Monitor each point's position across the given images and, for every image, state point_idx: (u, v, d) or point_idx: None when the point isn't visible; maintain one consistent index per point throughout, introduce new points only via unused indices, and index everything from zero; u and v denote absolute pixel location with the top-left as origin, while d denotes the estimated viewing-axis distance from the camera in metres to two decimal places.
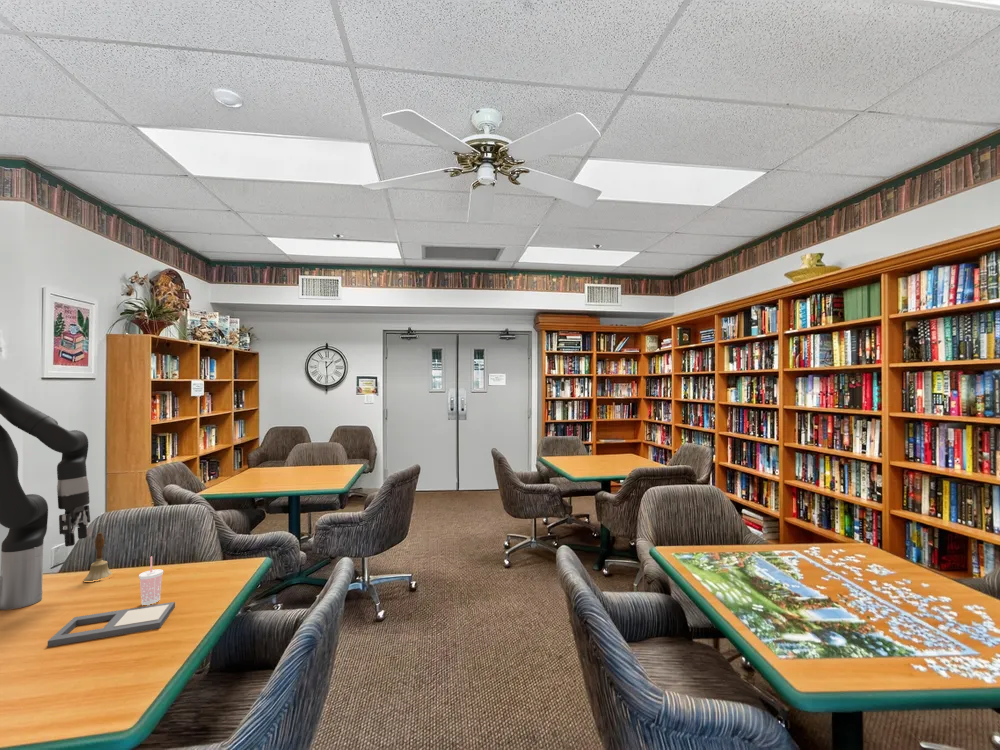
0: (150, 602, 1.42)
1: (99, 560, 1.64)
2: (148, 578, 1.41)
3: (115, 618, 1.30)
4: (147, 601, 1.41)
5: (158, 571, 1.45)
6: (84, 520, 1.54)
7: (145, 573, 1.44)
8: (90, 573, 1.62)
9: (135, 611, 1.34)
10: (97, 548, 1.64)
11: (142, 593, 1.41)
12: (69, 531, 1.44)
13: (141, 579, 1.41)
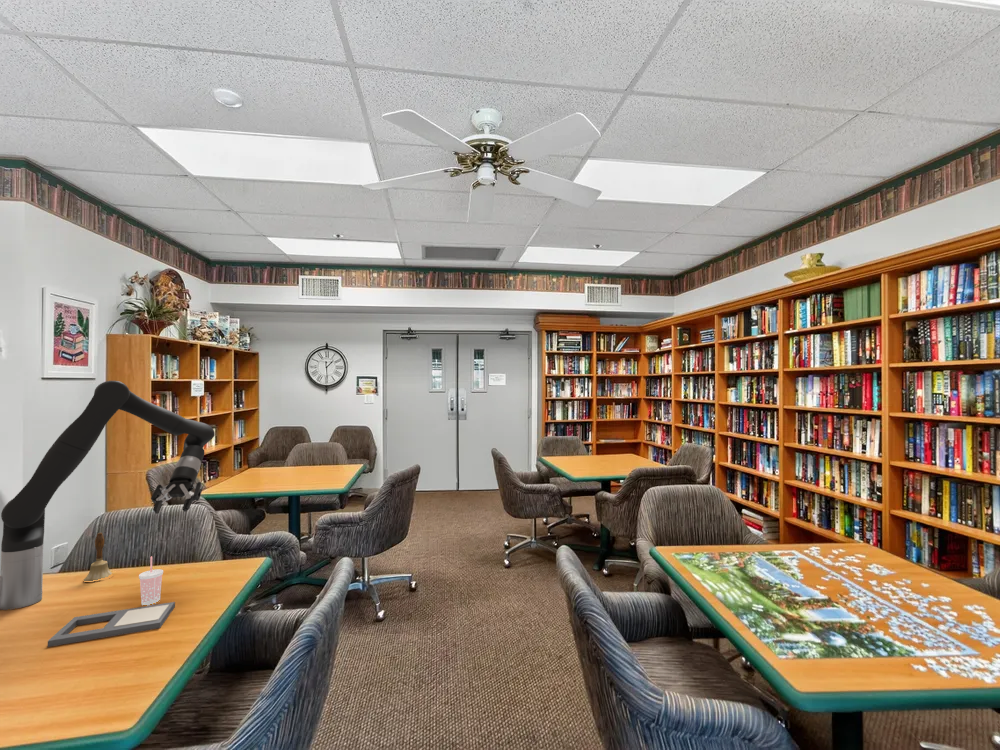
0: (150, 602, 1.42)
1: (99, 560, 1.64)
2: (148, 578, 1.41)
3: (115, 618, 1.30)
4: (147, 601, 1.41)
5: (158, 571, 1.45)
6: (169, 498, 1.61)
7: (145, 573, 1.44)
8: (90, 573, 1.62)
9: (135, 611, 1.34)
10: (97, 548, 1.64)
11: (142, 593, 1.41)
12: None
13: (141, 579, 1.41)
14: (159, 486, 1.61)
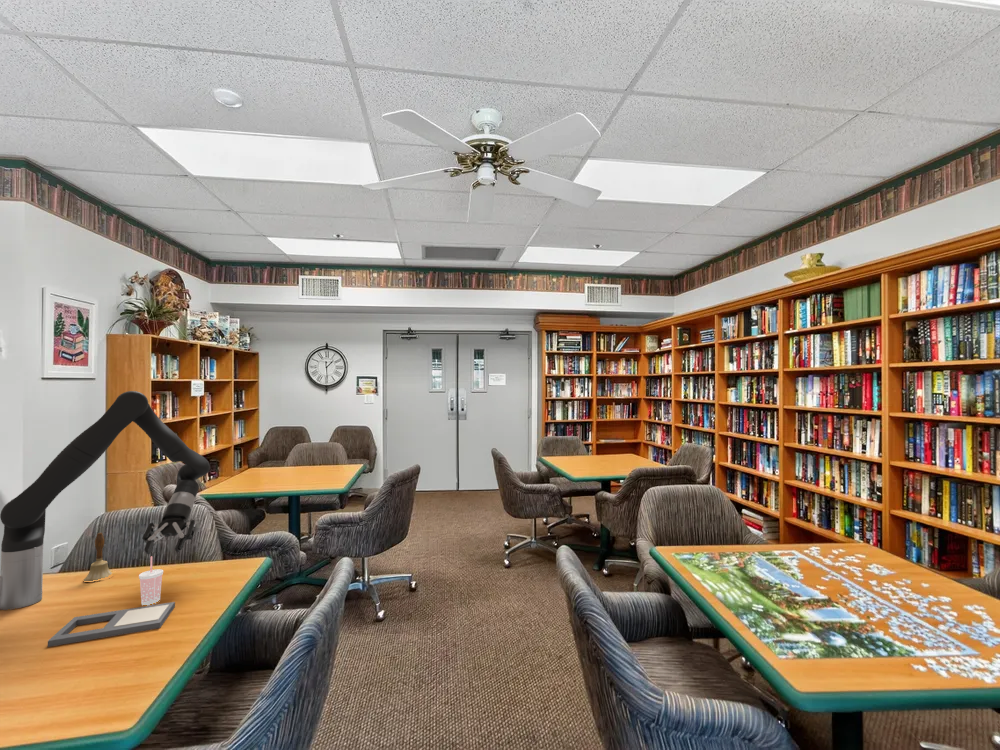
0: (150, 602, 1.42)
1: (99, 560, 1.64)
2: (148, 578, 1.41)
3: (115, 618, 1.30)
4: (147, 601, 1.41)
5: (158, 571, 1.45)
6: (161, 537, 1.55)
7: (145, 573, 1.44)
8: (90, 573, 1.62)
9: (135, 611, 1.34)
10: (97, 548, 1.64)
11: (142, 593, 1.41)
12: None
13: (141, 579, 1.41)
14: (151, 524, 1.56)
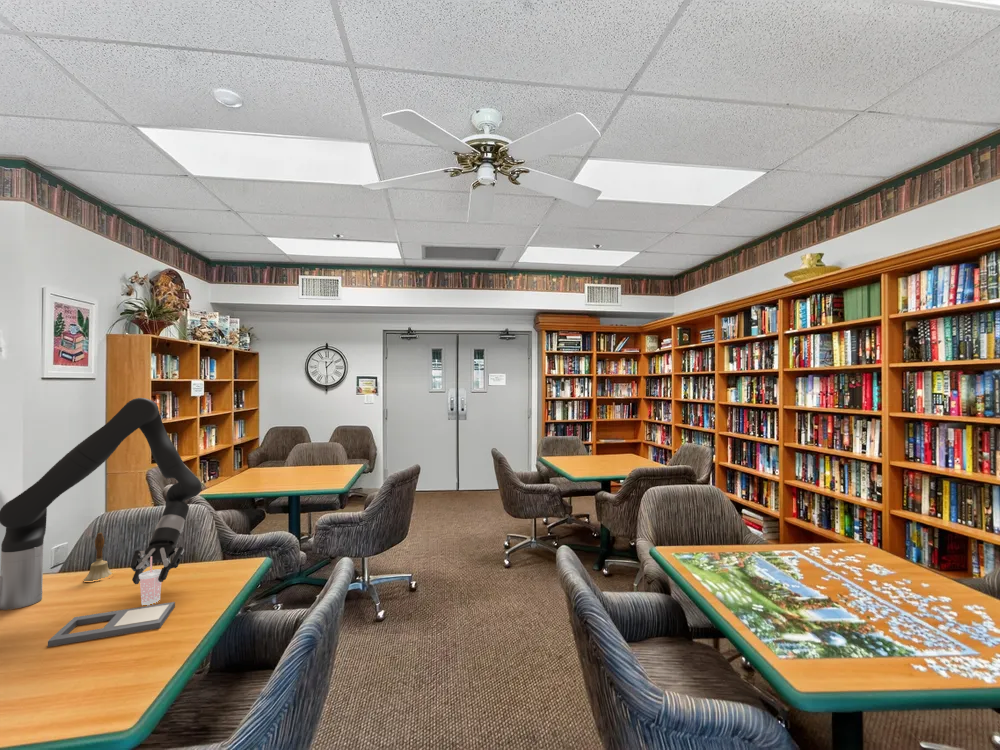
0: (150, 602, 1.42)
1: (99, 560, 1.64)
2: (148, 578, 1.41)
3: (115, 618, 1.30)
4: (147, 601, 1.41)
5: (158, 571, 1.45)
6: (149, 564, 1.47)
7: (145, 573, 1.44)
8: (90, 573, 1.62)
9: (135, 611, 1.34)
10: (97, 548, 1.64)
11: (142, 593, 1.41)
12: None
13: (141, 579, 1.41)
14: (137, 552, 1.47)
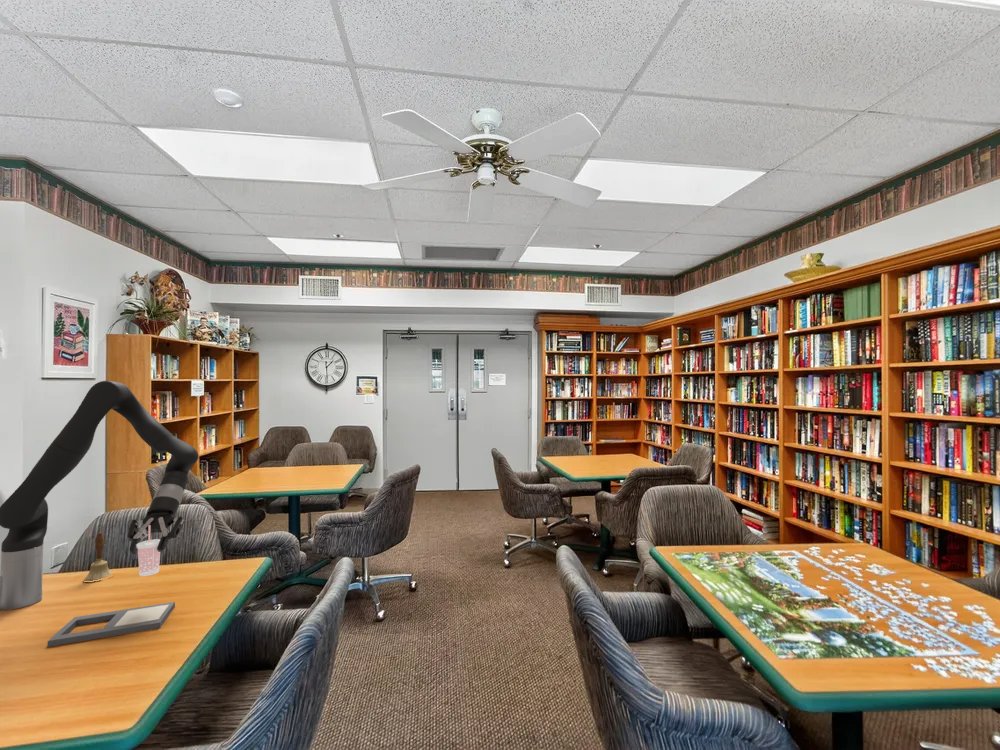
0: (149, 572, 1.35)
1: (99, 560, 1.64)
2: (146, 547, 1.35)
3: (115, 618, 1.30)
4: (145, 572, 1.35)
5: (157, 541, 1.39)
6: (147, 534, 1.41)
7: (143, 543, 1.37)
8: (90, 573, 1.62)
9: (135, 611, 1.34)
10: (97, 548, 1.64)
11: (140, 563, 1.35)
12: None
13: (139, 548, 1.35)
14: (134, 521, 1.41)
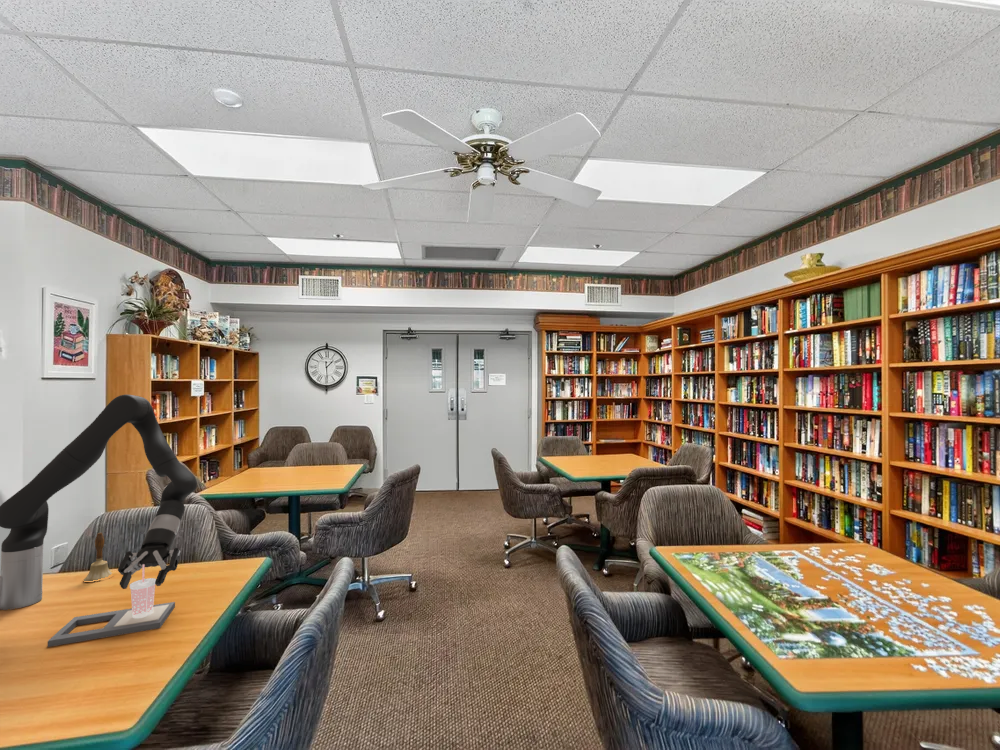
0: (142, 614, 1.30)
1: (99, 560, 1.64)
2: (140, 588, 1.29)
3: (115, 618, 1.30)
4: (139, 614, 1.29)
5: (151, 580, 1.33)
6: (140, 568, 1.35)
7: (137, 583, 1.32)
8: (90, 573, 1.62)
9: None
10: (97, 548, 1.64)
11: (133, 605, 1.29)
12: None
13: (132, 589, 1.29)
14: (128, 553, 1.35)
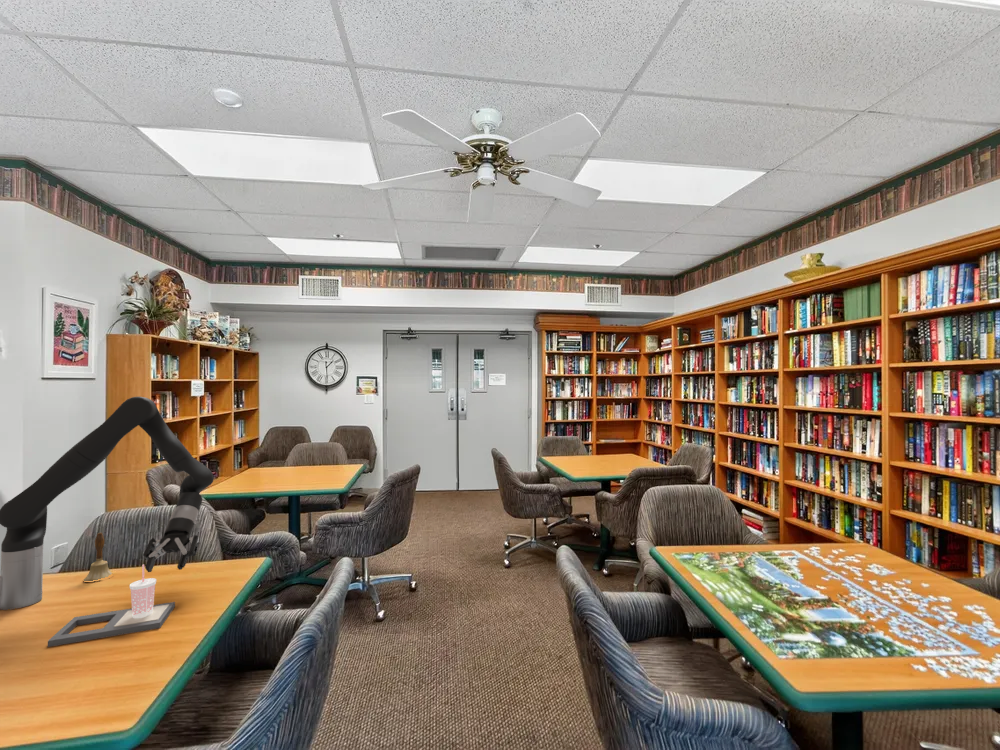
0: (142, 614, 1.30)
1: (99, 560, 1.64)
2: (139, 588, 1.29)
3: (115, 618, 1.30)
4: (139, 614, 1.29)
5: (151, 580, 1.33)
6: (163, 554, 1.48)
7: (136, 583, 1.32)
8: (90, 573, 1.62)
9: None
10: (97, 548, 1.64)
11: (133, 605, 1.29)
12: None
13: (132, 589, 1.29)
14: (152, 540, 1.48)
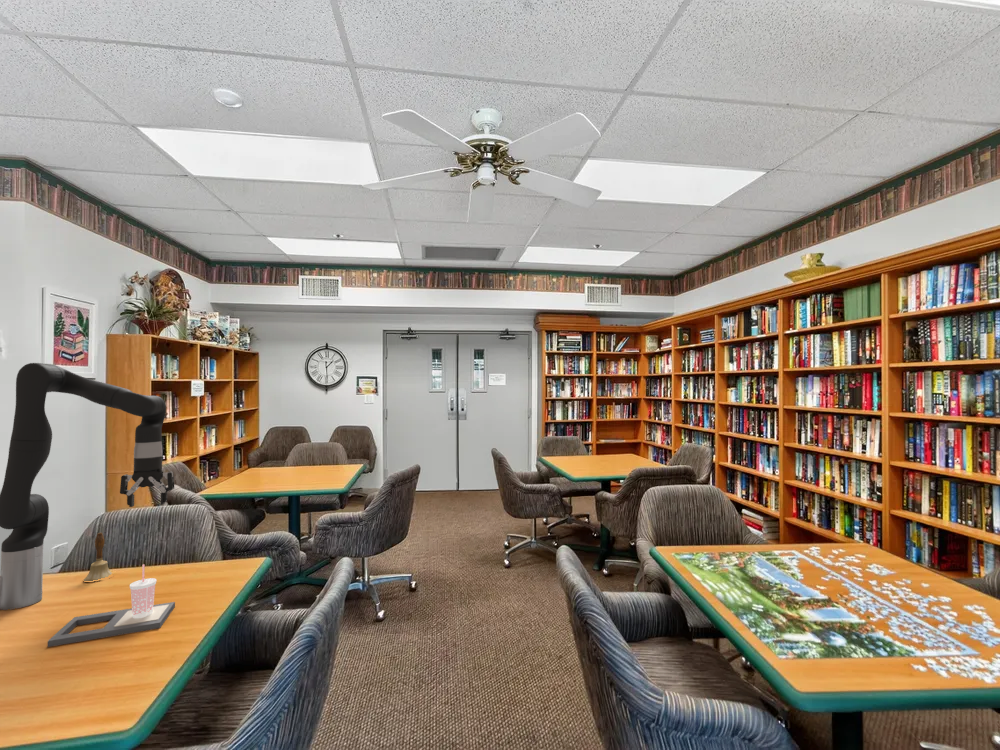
0: (142, 614, 1.30)
1: (99, 560, 1.64)
2: (140, 588, 1.29)
3: (115, 618, 1.30)
4: (139, 614, 1.29)
5: (151, 580, 1.33)
6: (139, 486, 1.53)
7: (137, 583, 1.32)
8: (90, 573, 1.62)
9: None
10: (97, 548, 1.64)
11: (133, 605, 1.29)
12: None
13: (132, 589, 1.29)
14: (124, 478, 1.50)
